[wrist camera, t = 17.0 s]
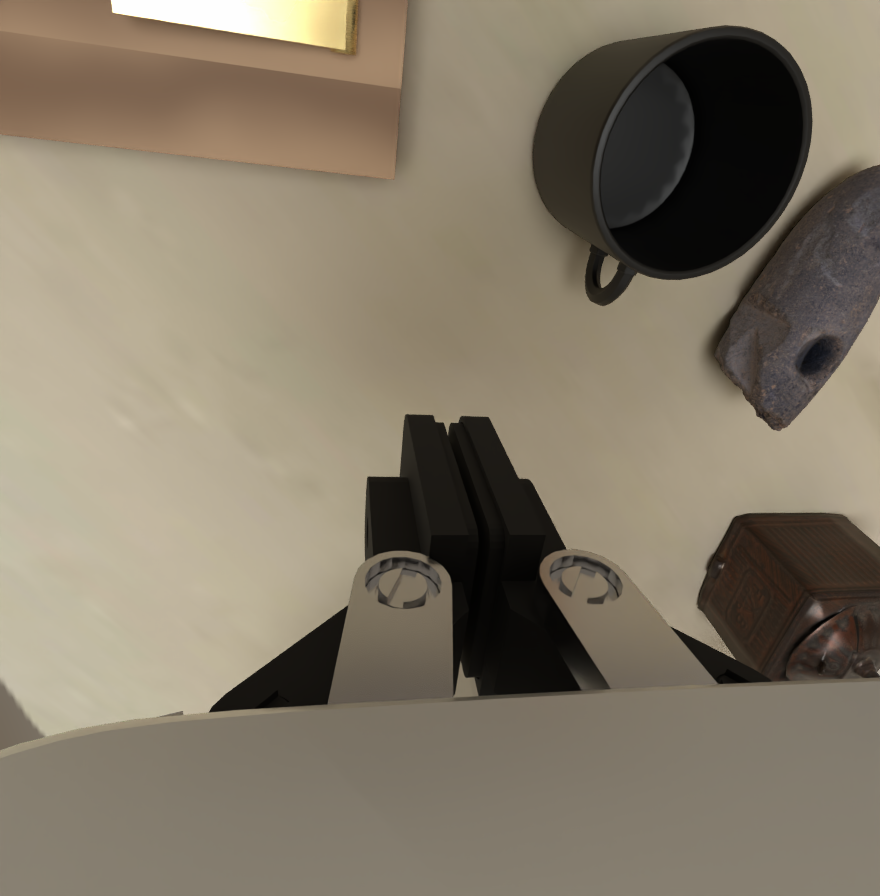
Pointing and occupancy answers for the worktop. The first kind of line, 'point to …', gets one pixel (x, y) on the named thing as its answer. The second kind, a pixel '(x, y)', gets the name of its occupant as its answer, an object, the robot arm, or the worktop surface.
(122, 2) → the bar
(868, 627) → the manual coffee grinder
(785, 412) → the perforated stone tool
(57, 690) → the worktop surface
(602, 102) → the mug
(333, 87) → the walnut block
